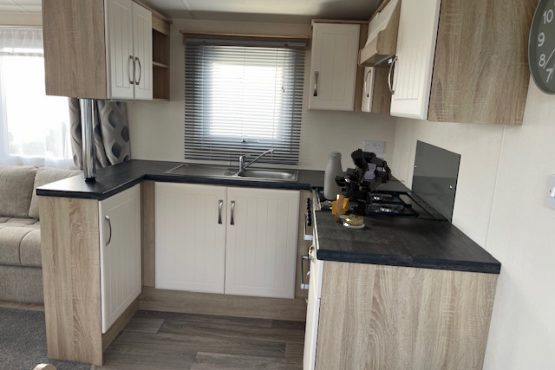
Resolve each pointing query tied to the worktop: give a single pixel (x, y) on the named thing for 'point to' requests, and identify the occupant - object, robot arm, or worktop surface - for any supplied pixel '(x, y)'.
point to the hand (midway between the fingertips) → (346, 197)
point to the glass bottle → (332, 175)
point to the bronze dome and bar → (348, 219)
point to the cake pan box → (372, 170)
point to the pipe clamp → (345, 206)
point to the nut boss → (353, 226)
